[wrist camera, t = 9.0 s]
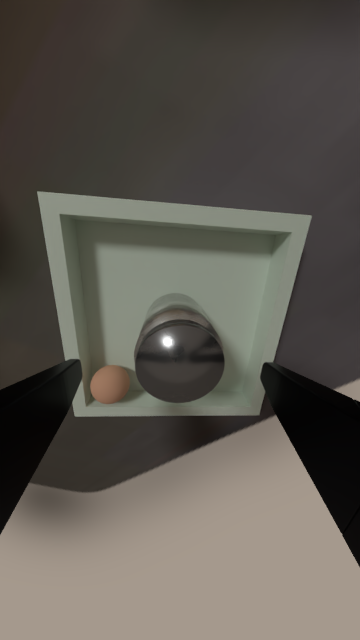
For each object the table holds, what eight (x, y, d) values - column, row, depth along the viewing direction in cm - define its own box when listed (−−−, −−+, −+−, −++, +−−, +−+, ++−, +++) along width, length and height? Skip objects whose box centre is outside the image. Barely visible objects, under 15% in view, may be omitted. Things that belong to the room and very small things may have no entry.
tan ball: (132, 358, 16) (124, 380, 13) (133, 386, 17) (126, 412, 14) (96, 357, 16) (81, 380, 13) (99, 386, 17) (85, 413, 14)
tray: (287, 222, 14) (311, 215, 11) (247, 395, 19) (259, 415, 17) (61, 203, 12) (37, 191, 10) (87, 394, 18) (74, 416, 15)
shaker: (207, 294, 15) (236, 323, 8) (201, 348, 16) (221, 405, 10) (145, 291, 14) (129, 319, 8) (145, 347, 16) (132, 406, 10)
